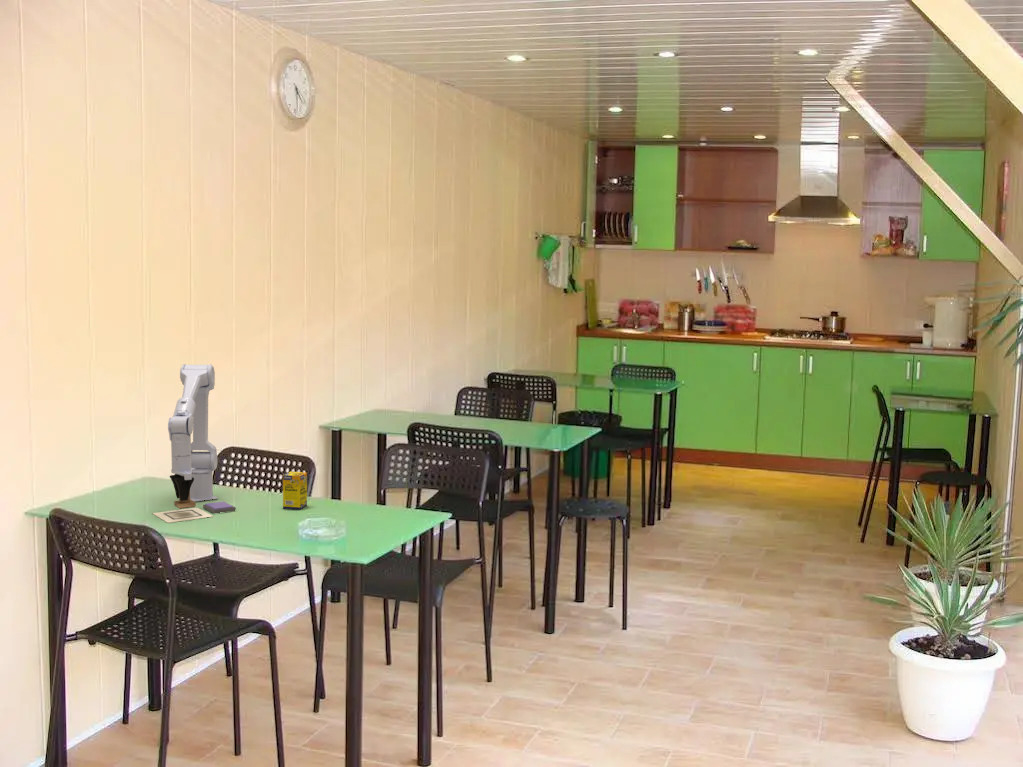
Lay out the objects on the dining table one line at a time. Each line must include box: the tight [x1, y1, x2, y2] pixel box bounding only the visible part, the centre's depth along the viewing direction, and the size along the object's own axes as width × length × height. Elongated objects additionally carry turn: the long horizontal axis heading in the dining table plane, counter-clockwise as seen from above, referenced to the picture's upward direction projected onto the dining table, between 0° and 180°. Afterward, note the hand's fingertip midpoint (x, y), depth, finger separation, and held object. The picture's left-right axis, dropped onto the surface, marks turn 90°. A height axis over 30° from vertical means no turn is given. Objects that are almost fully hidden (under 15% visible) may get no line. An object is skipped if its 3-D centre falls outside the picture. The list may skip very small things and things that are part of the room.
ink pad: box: [202, 500, 237, 514], centre depth 355 cm, size 9×7×2 cm
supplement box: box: [282, 471, 308, 511], centre depth 359 cm, size 6×6×11 cm
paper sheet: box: [152, 506, 214, 524], centre depth 348 cm, size 14×14×1 cm
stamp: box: [173, 492, 197, 510], centre depth 347 cm, size 5×5×7 cm
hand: (182, 499), depth 347 cm, fingers closed on stamp, 3 cm apart
